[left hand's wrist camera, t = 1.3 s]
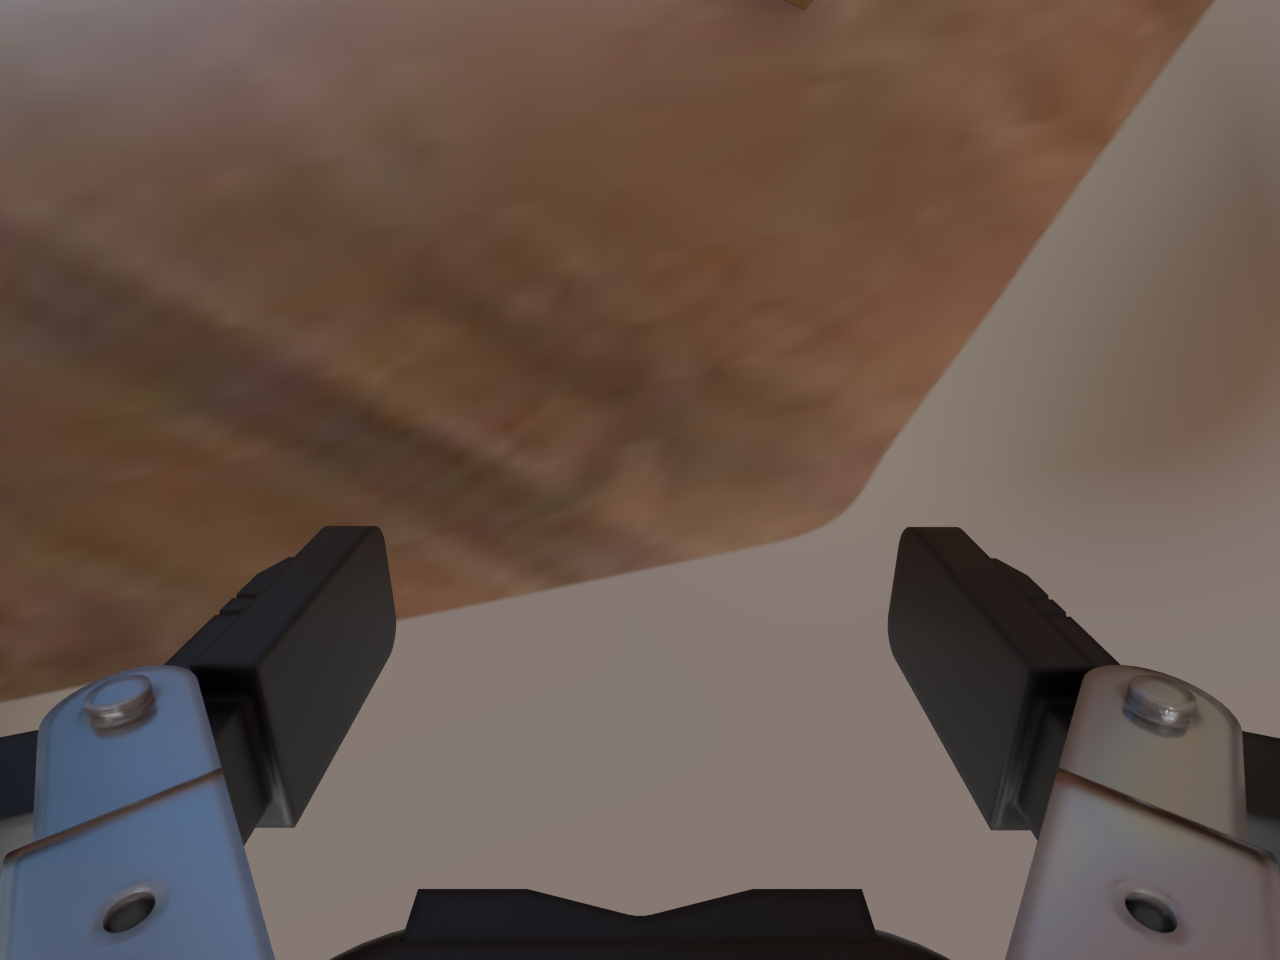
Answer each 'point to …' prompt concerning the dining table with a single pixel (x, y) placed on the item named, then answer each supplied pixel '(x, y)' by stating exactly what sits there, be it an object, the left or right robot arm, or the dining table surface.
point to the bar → (800, 3)
